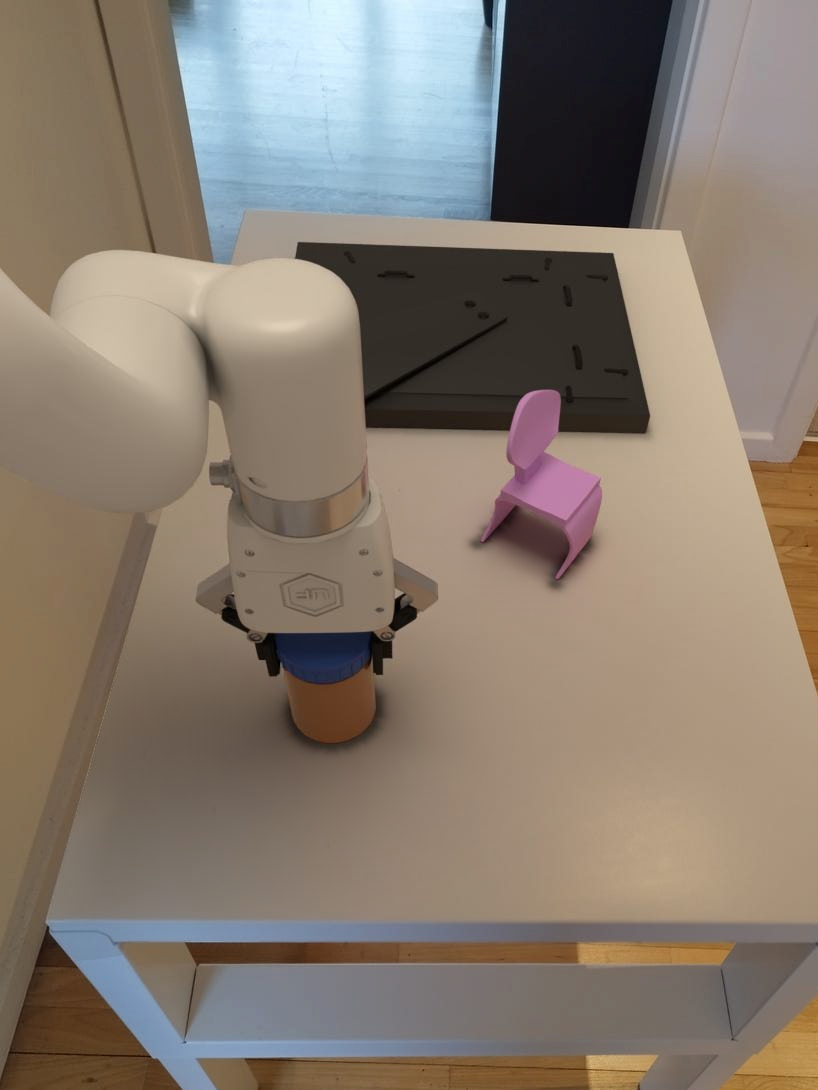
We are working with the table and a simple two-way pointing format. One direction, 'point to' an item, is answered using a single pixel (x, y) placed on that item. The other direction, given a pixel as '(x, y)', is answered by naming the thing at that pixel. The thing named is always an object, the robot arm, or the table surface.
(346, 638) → the jar lid
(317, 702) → the jar
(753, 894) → the table surface
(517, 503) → the toy chair
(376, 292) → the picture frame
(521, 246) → the table surface
